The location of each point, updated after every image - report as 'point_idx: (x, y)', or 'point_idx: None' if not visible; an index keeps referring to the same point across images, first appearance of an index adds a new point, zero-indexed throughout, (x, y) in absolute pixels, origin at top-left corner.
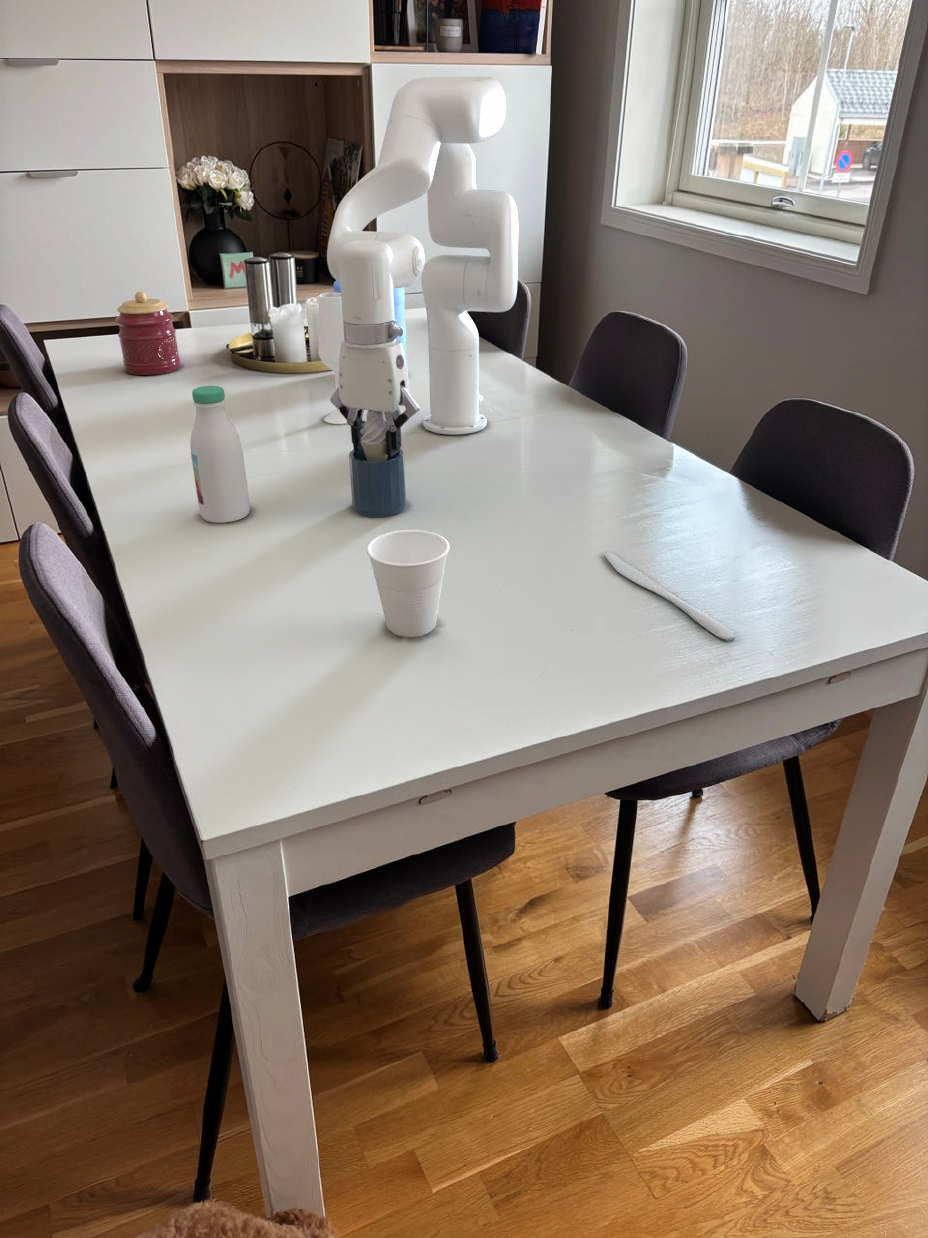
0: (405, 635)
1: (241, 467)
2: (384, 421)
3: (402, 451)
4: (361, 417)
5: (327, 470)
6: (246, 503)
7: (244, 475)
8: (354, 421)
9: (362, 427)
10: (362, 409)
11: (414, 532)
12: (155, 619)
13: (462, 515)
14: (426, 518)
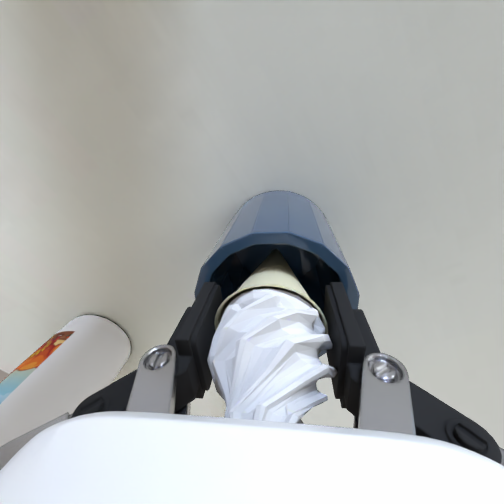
0: None
1: (76, 406)
2: (306, 386)
3: (344, 268)
4: (178, 369)
5: (57, 111)
6: (118, 350)
7: (85, 384)
8: (189, 409)
9: (205, 351)
10: (172, 412)
11: None
12: None
13: (463, 208)
14: (388, 249)
